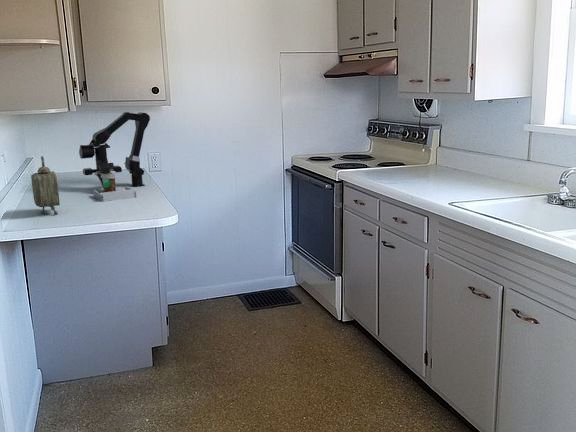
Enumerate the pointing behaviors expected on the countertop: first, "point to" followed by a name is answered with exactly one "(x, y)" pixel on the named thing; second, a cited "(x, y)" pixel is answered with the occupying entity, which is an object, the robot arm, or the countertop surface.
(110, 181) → the food container
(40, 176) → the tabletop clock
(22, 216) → the countertop surface
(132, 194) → the frame
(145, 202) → the countertop surface
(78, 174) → the countertop surface
